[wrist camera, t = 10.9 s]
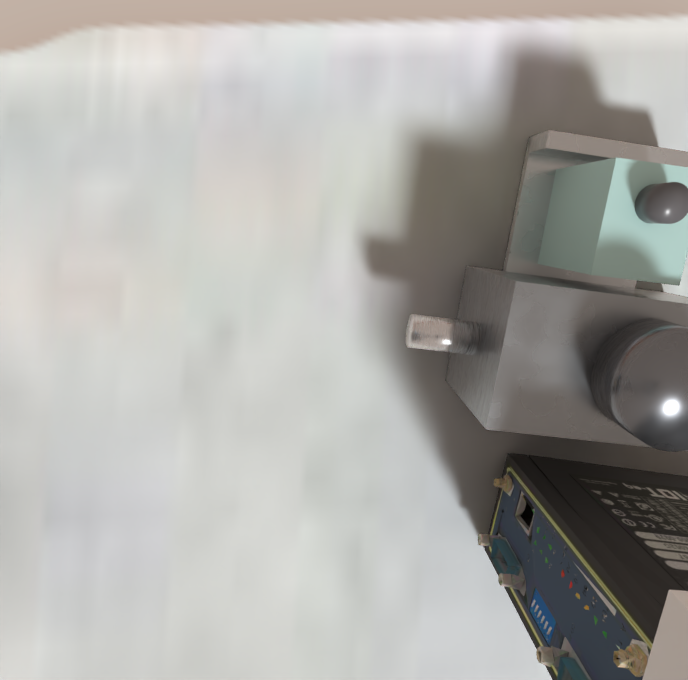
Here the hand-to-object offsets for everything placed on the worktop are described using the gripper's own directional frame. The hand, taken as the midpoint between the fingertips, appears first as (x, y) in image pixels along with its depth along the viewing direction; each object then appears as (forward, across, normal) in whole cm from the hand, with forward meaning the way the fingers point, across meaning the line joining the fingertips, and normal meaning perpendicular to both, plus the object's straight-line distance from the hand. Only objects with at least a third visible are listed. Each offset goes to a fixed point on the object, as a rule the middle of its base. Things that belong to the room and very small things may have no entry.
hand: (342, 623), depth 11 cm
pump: (+26, +16, +10) cm, 32 cm away
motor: (+27, +14, +6) cm, 31 cm away
